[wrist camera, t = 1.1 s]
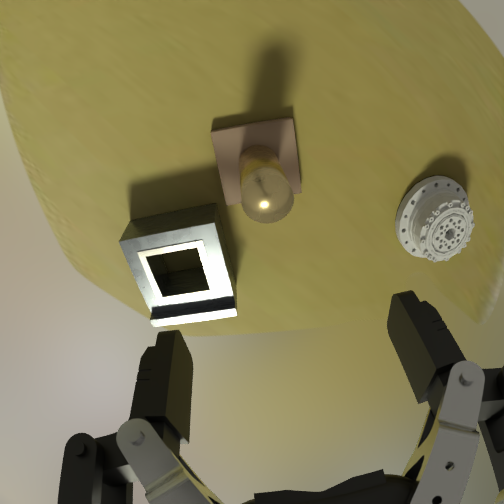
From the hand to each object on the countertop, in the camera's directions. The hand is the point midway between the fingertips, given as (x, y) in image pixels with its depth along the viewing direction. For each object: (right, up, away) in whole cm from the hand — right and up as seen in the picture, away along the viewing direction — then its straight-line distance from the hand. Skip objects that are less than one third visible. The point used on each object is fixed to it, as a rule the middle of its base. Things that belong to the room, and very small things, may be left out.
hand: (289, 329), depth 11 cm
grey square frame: (-8, +3, +21) cm, 23 cm away
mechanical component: (+19, +7, +21) cm, 29 cm away
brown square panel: (-1, +11, +17) cm, 20 cm away
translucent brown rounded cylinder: (-1, +11, +16) cm, 19 cm away
